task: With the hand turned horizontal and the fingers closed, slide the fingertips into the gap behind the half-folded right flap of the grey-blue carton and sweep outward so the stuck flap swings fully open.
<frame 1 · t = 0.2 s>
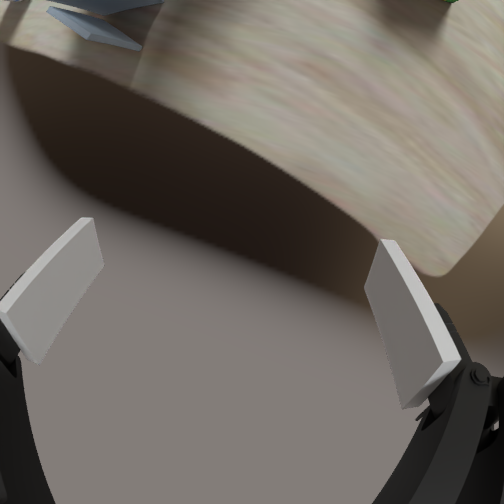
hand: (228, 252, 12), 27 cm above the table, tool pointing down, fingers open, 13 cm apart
right flap: (96, 28, 21), point 7 cm above the table, hinge at 40.0°
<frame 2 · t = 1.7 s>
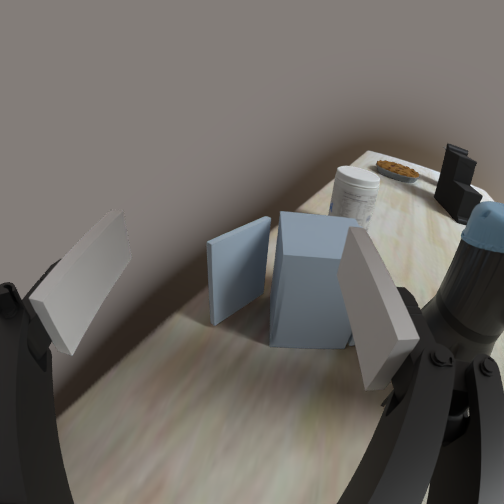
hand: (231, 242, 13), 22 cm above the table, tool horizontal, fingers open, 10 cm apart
black stepped block: (454, 212, 84), on the table
pie: (396, 176, 115), on the table
right flap: (239, 272, 36), point 7 cm above the table, hinge at 40.0°
supplement tub: (345, 235, 61), on the table
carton: (305, 320, 39), on the table
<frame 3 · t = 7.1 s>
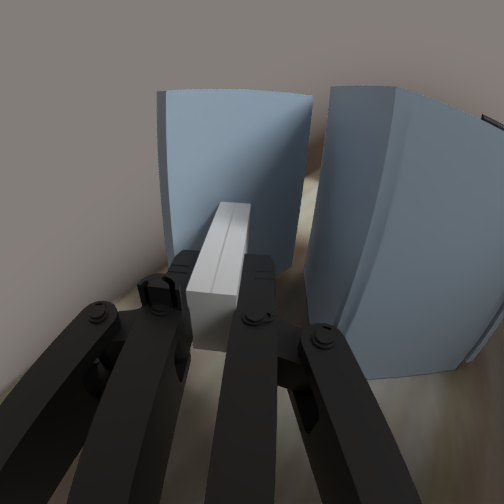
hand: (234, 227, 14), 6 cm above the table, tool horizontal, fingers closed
right flap: (244, 204, 15), point 7 cm above the table, hinge at 41.8°, touching gripper
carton: (377, 318, 18), on the table
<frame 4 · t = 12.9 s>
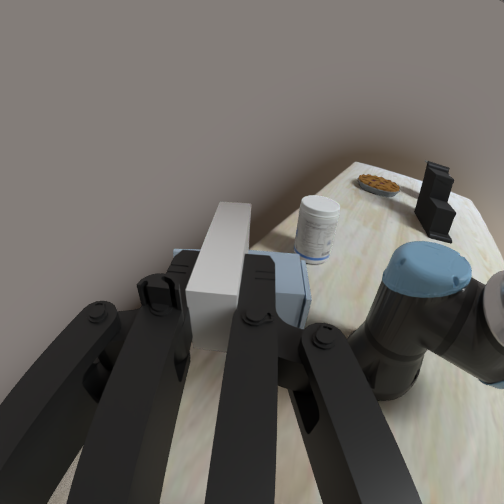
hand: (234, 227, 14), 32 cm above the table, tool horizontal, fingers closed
black stepped block: (431, 227, 94), on the table
pie: (377, 190, 125), on the table
right flap: (203, 280, 50), point 7 cm above the table, hinge at 85.4°
supplement tub: (311, 255, 72), on the table
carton: (261, 332, 49), on the table
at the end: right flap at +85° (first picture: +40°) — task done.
